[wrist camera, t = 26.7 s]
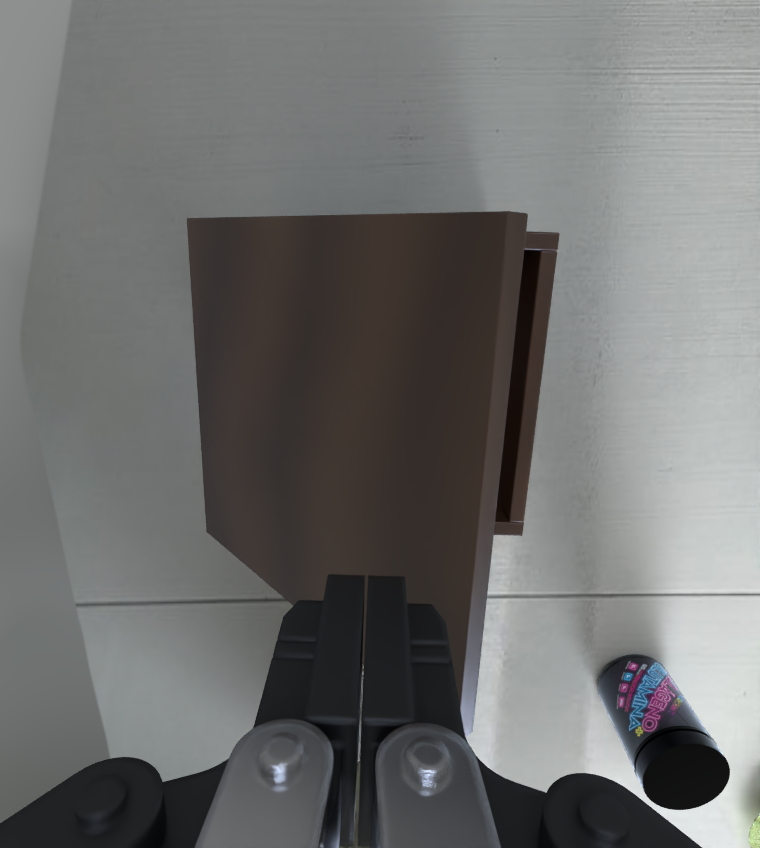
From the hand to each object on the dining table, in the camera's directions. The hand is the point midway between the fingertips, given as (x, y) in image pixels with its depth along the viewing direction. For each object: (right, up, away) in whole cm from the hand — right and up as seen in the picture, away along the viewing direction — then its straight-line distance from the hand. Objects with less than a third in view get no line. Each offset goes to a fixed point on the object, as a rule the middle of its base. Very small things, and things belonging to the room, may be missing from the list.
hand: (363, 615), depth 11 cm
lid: (-2, +3, +11) cm, 12 cm away
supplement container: (+24, -21, +43) cm, 53 cm away
